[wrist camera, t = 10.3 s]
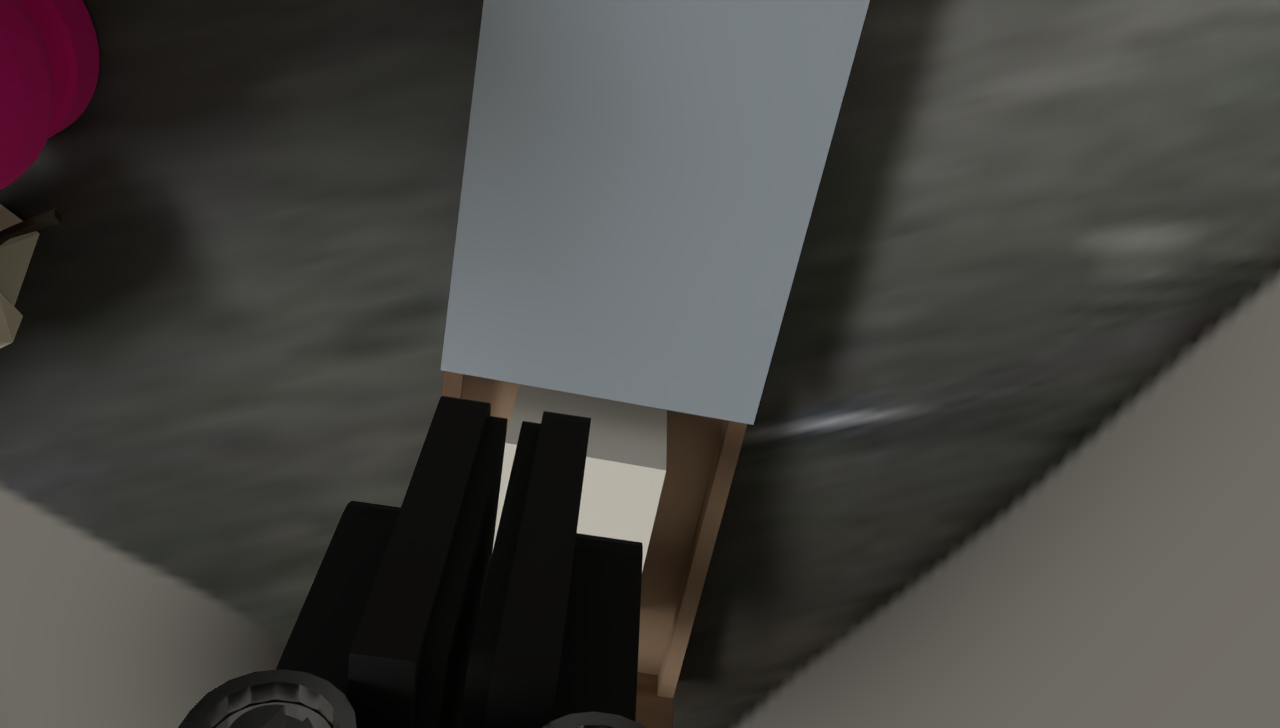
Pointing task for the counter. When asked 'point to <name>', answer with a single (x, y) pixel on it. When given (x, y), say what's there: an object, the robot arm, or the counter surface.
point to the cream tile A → (603, 460)
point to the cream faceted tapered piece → (17, 263)
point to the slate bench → (642, 193)
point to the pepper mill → (42, 76)
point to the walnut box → (661, 536)
